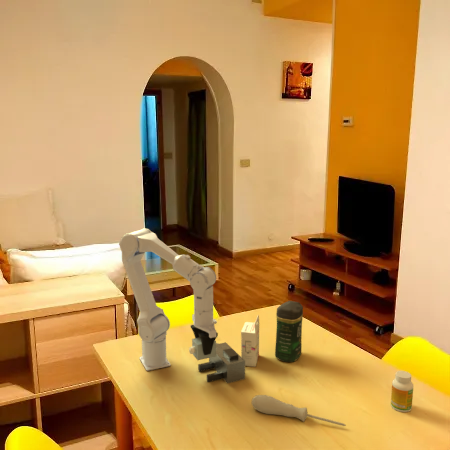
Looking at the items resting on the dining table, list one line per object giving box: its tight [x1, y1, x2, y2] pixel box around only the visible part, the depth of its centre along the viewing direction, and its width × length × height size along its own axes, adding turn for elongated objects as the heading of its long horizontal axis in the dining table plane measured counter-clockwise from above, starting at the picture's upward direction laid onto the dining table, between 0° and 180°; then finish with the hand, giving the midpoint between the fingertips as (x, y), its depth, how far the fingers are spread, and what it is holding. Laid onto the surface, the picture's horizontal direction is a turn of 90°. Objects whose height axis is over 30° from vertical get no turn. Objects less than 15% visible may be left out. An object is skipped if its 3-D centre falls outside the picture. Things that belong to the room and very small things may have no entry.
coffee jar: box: [274, 300, 304, 363], centre depth 154 cm, size 10×8×19 cm
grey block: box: [188, 337, 217, 361], centre depth 141 cm, size 4×8×5 cm, turn 115°
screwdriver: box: [251, 394, 346, 427], centre depth 122 cm, size 5×25×4 cm, turn 68°
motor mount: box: [197, 342, 246, 384], centre depth 145 cm, size 16×11×7 cm
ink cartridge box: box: [240, 314, 260, 367], centre depth 152 cm, size 9×5×15 cm, turn 168°
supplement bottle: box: [390, 370, 414, 413], centre depth 126 cm, size 5×5×10 cm
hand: (204, 350), depth 141 cm, fingers closed on grey block, 4 cm apart
